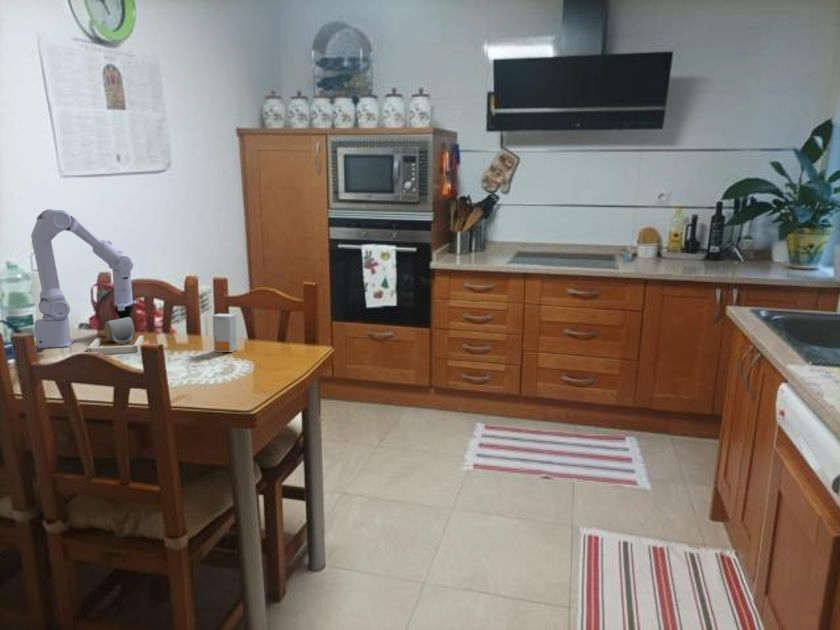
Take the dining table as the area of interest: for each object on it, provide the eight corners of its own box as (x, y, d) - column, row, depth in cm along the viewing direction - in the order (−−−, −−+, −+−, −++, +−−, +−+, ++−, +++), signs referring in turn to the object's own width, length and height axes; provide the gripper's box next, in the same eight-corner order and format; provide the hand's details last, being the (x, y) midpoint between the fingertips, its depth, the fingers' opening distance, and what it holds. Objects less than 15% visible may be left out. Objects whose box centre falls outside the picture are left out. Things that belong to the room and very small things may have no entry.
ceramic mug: (104, 339, 215) (102, 318, 214) (129, 336, 220) (128, 315, 219) (112, 346, 207) (110, 323, 206) (138, 342, 212) (137, 320, 211)
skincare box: (213, 352, 201) (211, 315, 198) (220, 349, 205) (219, 313, 202) (230, 353, 199) (229, 316, 197) (237, 350, 203) (236, 314, 201)
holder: (87, 354, 196) (86, 348, 195) (96, 343, 210) (96, 337, 210) (137, 352, 200) (137, 345, 199) (143, 341, 214) (143, 335, 214)
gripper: (132, 292, 216) (135, 330, 218) (138, 286, 229) (140, 322, 232) (109, 292, 214) (113, 331, 216) (116, 286, 227) (119, 323, 230)
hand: (125, 327), depth 224 cm, fingers closed
